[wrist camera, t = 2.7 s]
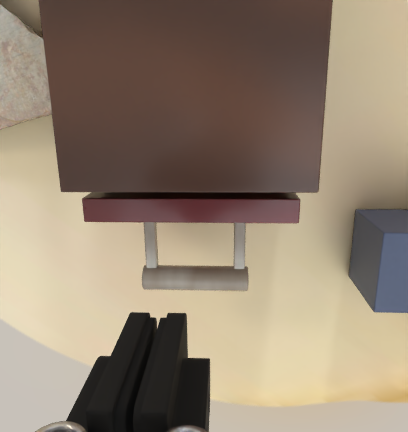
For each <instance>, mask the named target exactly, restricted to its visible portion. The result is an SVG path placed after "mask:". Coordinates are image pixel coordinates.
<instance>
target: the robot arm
mask: <svg viewBox="0 0 408 432" xmlns="http://www.w3.org/2000/svg"><path fill="white" fill-rule="evenodd" d="M209 412H210V359H206V358H188V349H187V316H186V313H168V314H167V318H161V319H160V322H159V325H158V328H157V321H156V318H150V314H149V313H135V312H132V313H130V315H129V317H128V319H127V321H126V323H125V326H124V328H123V330H122V332H121V335H120V337H119V339H118V341H117V343H116V346H115V348H114V350H113V352H112V354H111V356H100V357H98V359H97V360H96V362H95V364H94V366H93V368H92V370H91V372H90V374H89V377H88V378H87V380H86V382H85V384H84V386H83V388H82V390H81V392H80V394H79V396H78V398H77V400H76V402H75V404H74V406H73V408H72V410H71V412H70V414H69V416H68V418H67V420H66V421H60V422H55V423H51V424H49V425H46V426H44V427H42V428H40V429H38V430H37V431H35V432H209Z"/></svg>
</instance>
